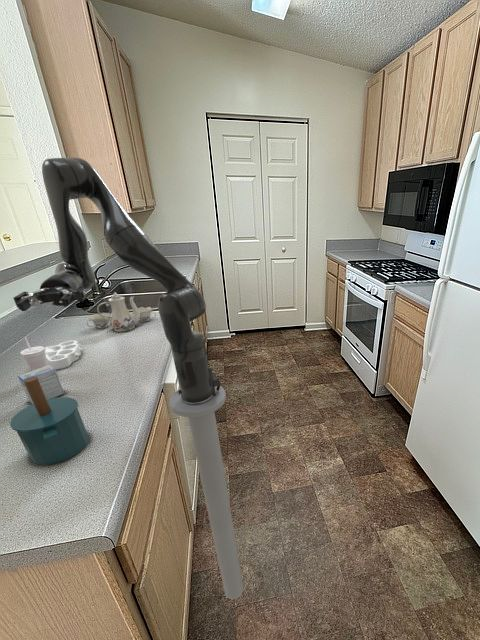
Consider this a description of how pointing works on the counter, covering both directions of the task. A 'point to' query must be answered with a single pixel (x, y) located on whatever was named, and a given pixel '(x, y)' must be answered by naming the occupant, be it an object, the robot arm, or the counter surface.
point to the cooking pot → (56, 441)
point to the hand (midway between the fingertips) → (43, 304)
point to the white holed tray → (63, 354)
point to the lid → (42, 409)
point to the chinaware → (120, 315)
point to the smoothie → (34, 356)
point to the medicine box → (44, 382)
